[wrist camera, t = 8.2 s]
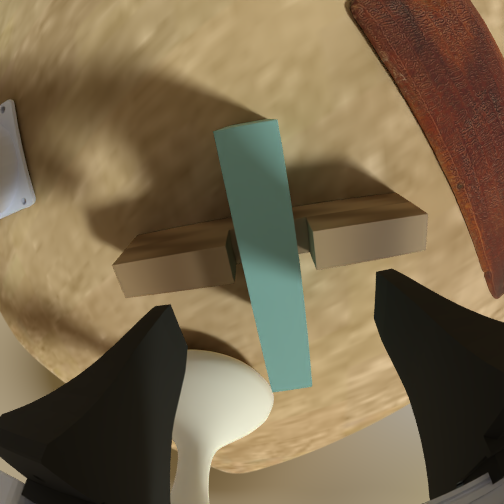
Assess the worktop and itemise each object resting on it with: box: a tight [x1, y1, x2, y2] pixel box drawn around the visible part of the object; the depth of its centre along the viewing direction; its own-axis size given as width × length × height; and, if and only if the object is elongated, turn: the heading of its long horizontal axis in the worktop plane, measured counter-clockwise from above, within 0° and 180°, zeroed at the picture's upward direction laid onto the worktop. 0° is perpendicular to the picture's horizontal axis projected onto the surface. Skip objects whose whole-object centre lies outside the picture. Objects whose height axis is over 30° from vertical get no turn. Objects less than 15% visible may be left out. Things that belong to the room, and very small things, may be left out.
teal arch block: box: [213, 119, 312, 392], centre depth 14 cm, size 12×2×7 cm, turn 11°
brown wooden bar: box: [112, 193, 428, 298], centre depth 16 cm, size 16×2×4 cm, turn 100°
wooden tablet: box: [350, 0, 504, 299], centre depth 15 cm, size 27×10×2 cm, turn 38°
